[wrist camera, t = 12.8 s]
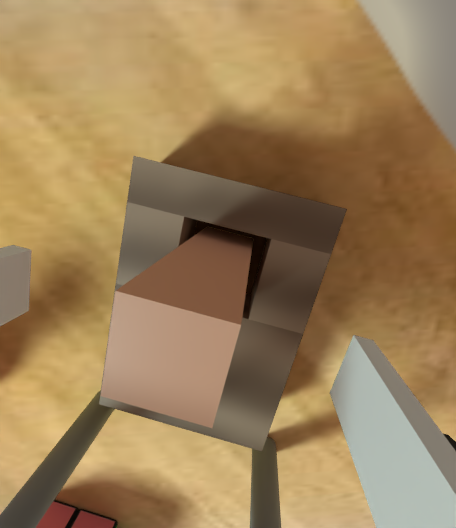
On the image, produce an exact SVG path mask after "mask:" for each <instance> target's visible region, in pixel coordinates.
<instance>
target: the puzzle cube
mask: <svg viewBox="0 0 456 528" xmlns="http://www.w3.org/2000/svg"><path fill="white" fill-rule="evenodd" d="M36 528H117V521H116V520H113V519H110V518H106V517H103V516H100V515H97V514H94V513H91V512H88V511H85V510H80V511H78V509H77V508H76V507H73V506H70V505H67V504H64V503H61V502H58V501H55V500H54V501H53V502H52V504H51V505H50V507H49V508H48V510H47V511H46V513H45V514H44V516H43V517H42V519H41V520H40V522H39V523H38V525H37V526H36Z"/></svg>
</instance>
